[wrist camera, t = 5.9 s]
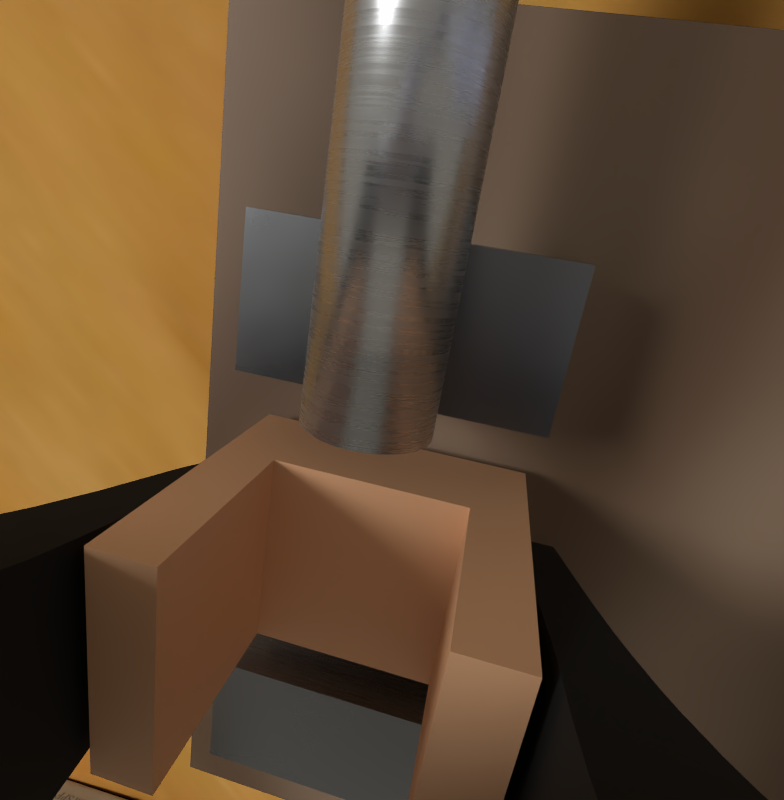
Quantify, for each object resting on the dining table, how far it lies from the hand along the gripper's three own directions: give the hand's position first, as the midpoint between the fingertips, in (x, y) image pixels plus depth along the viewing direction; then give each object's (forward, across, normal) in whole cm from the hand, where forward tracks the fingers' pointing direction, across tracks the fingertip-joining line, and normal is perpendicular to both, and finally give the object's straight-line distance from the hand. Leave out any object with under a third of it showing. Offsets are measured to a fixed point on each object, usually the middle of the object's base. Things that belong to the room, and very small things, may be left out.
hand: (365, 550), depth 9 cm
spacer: (+1, 0, 0) cm, 1 cm away
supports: (+1, 0, 0) cm, 1 cm away
